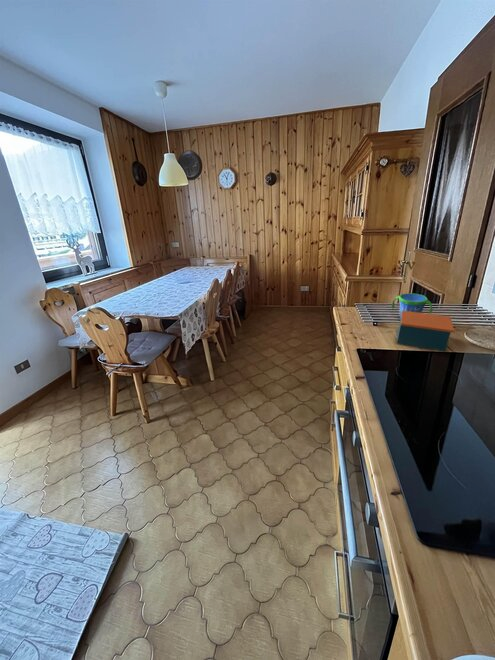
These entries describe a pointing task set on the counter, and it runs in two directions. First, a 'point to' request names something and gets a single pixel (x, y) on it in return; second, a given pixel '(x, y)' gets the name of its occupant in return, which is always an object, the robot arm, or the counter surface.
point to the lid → (427, 321)
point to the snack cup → (412, 303)
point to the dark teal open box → (422, 337)
